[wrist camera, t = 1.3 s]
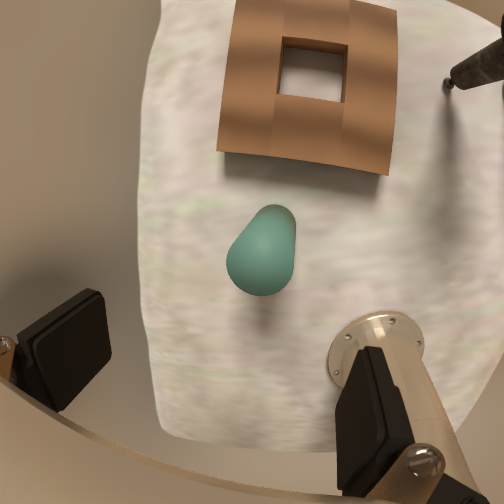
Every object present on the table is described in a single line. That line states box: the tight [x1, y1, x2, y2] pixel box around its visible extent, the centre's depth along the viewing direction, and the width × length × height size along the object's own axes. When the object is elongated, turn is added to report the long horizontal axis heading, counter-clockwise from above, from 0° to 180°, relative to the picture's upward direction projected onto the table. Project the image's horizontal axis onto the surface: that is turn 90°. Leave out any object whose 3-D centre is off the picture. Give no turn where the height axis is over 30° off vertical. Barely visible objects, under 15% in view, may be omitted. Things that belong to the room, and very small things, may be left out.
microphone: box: [443, 14, 504, 90], centre depth 13 cm, size 7×7×20 cm
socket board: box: [216, 0, 398, 176], centre depth 24 cm, size 18×16×3 cm
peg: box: [226, 204, 296, 296], centre depth 25 cm, size 4×4×12 cm
